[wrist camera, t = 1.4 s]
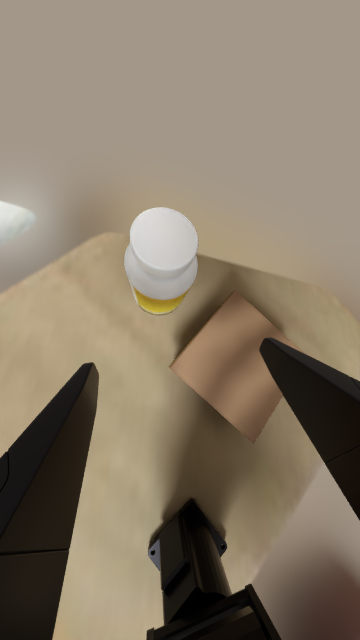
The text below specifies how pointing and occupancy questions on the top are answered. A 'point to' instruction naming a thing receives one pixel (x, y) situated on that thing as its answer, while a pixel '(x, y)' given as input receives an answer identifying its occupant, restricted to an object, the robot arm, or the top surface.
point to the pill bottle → (161, 259)
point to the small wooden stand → (233, 365)
